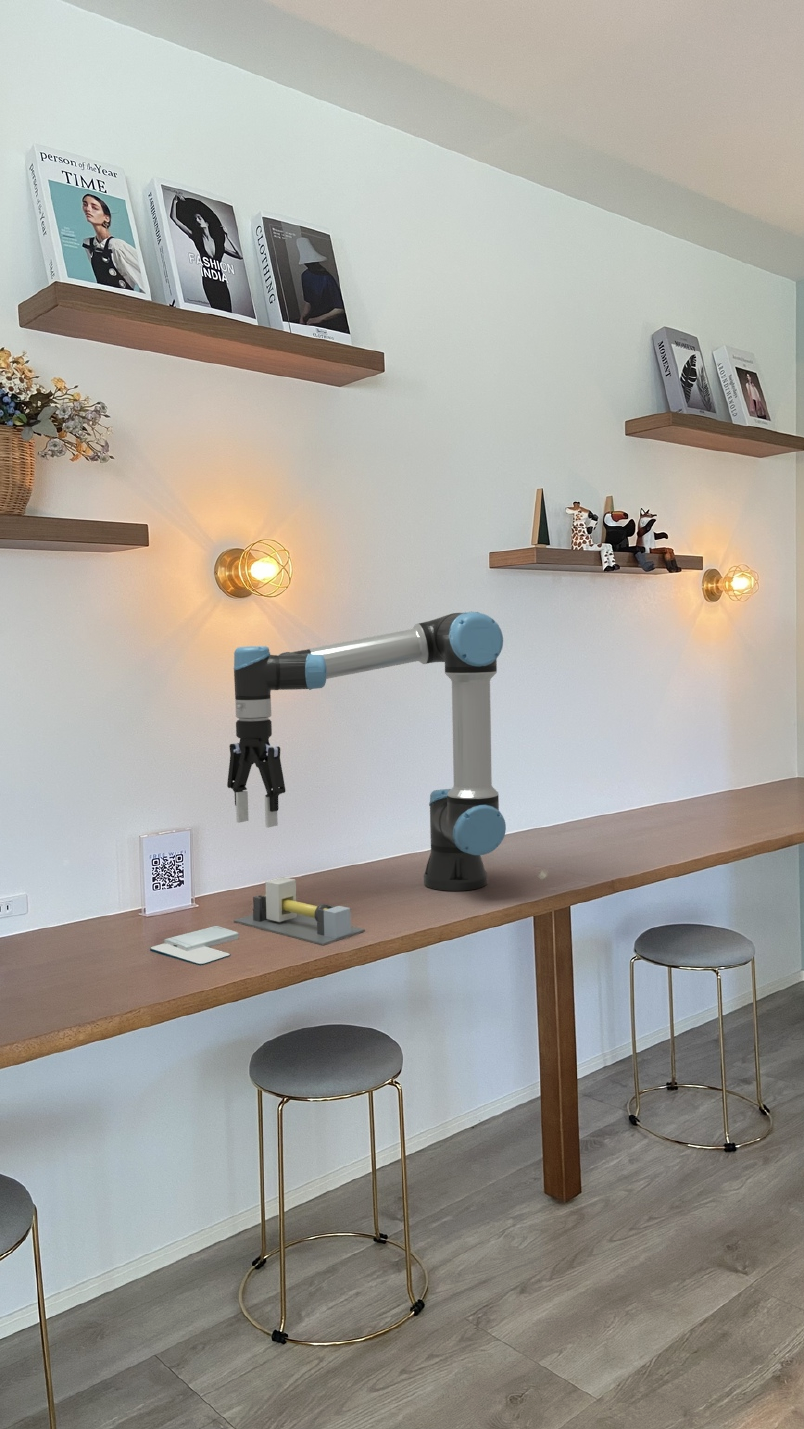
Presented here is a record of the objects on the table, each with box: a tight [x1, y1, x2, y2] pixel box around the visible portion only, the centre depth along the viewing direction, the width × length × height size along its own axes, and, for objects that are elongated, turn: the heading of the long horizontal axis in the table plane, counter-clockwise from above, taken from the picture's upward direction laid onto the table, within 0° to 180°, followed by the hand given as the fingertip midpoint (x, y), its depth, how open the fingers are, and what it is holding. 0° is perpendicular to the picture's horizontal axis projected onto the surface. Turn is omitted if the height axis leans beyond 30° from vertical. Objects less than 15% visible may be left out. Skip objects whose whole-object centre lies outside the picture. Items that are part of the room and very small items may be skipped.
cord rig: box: [233, 894, 366, 946], centre depth 221 cm, size 27×12×6 cm, turn 49°
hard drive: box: [163, 925, 240, 951], centre depth 212 cm, size 2×8×12 cm
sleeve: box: [265, 876, 297, 922], centre depth 224 cm, size 4×5×8 cm
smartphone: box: [149, 942, 231, 966], centre depth 205 cm, size 8×1×16 cm
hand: (256, 823), depth 227 cm, fingers open, 9 cm apart
